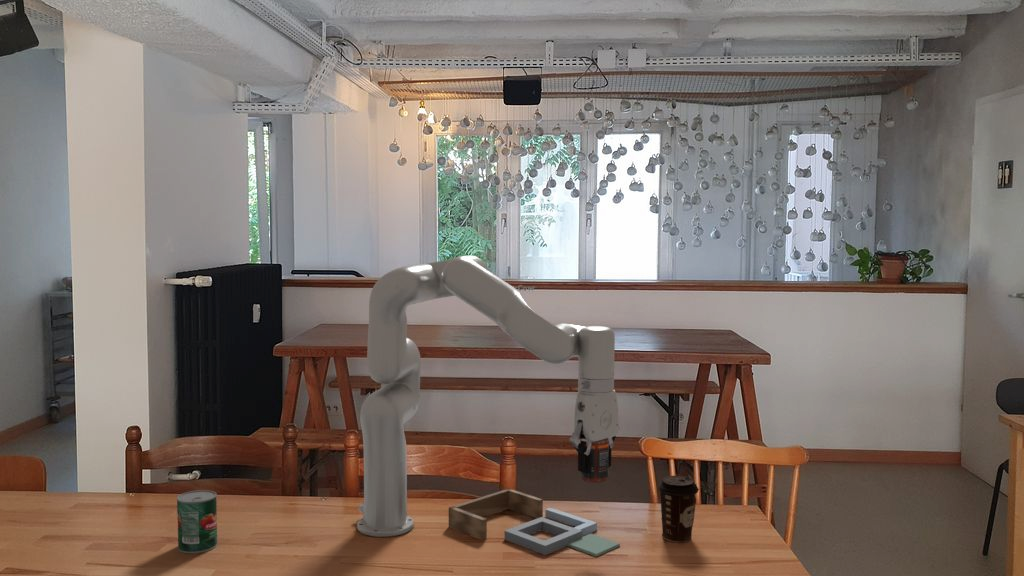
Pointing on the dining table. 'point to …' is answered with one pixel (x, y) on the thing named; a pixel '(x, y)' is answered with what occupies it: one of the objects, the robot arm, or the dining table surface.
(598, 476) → the supplement bottle
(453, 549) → the dining table surface
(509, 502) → the cubby
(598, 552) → the pad
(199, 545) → the canned tomato
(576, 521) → the crook tool
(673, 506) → the coffee cup
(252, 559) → the dining table surface
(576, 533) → the hole board
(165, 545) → the dining table surface
